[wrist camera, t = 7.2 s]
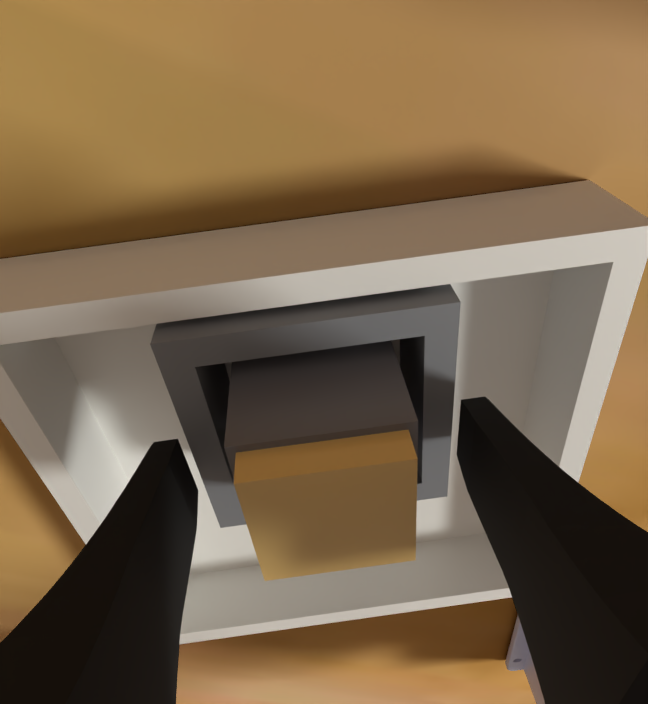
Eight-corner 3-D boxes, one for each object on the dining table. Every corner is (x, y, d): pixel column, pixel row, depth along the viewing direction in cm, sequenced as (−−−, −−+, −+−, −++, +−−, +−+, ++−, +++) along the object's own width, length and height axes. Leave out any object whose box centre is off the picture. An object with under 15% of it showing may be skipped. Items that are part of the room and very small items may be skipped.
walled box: (515, 528, 23) (549, 604, 20) (167, 577, 23) (153, 661, 20) (589, 180, 14) (672, 233, 11) (-7, 259, 14) (-78, 334, 11)
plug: (379, 397, 17) (423, 563, 12) (260, 412, 17) (257, 586, 12) (375, 293, 15) (428, 450, 10) (236, 311, 15) (221, 478, 10)
